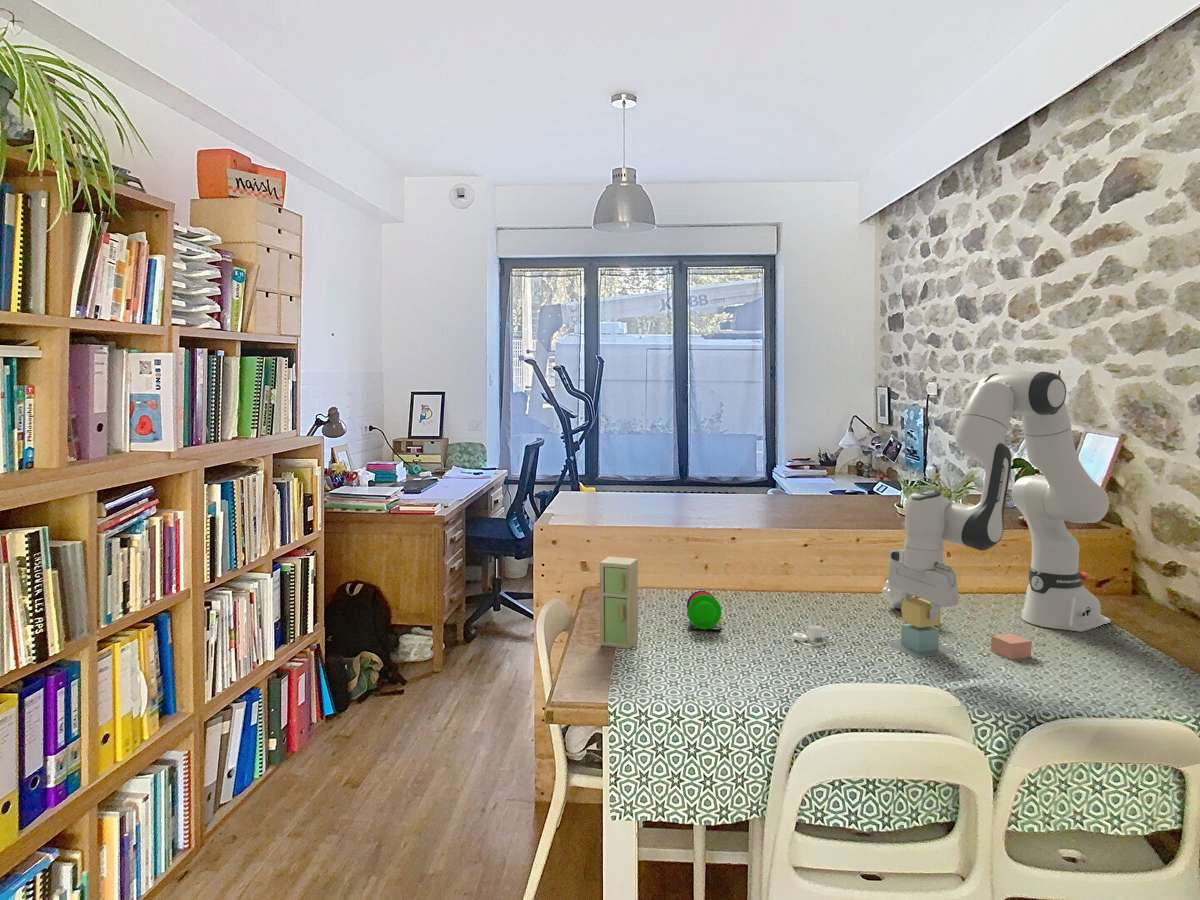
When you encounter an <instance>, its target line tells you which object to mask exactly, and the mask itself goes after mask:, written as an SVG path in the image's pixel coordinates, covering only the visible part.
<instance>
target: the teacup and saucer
mask: <svg viewBox="0 0 1200 900" xmlns="http://www.w3.org/2000/svg"><path fill="white" fill-rule="evenodd" d="M822 631H823V632H824V633H823V635H822V636H821V632H822ZM826 633H827V632H826V629H825V628H822V627H821V626H820V625H818V624H810V625H808V626H807V635H806V634H803V633H801V632H794V633H793V634H792V638H793V639H794V640H795V641H797V642H798V643H800V644H802V645H806V646H810V647H825V646H827V644H826V643H823V644H822V643H821V644H811V643H819V642H820V640H818V639H820V637H821V638H824V637H825V635H826ZM807 641H809V642H811V643H806V642H807Z"/></svg>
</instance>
